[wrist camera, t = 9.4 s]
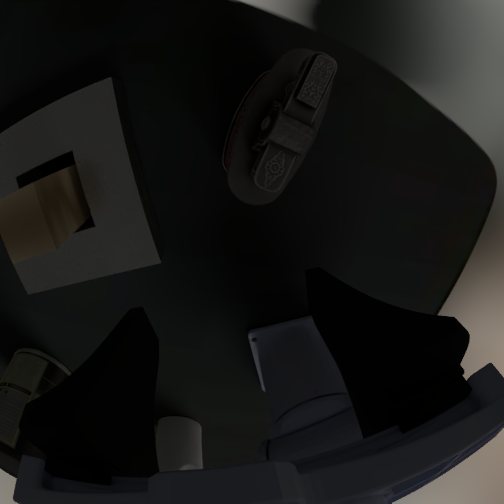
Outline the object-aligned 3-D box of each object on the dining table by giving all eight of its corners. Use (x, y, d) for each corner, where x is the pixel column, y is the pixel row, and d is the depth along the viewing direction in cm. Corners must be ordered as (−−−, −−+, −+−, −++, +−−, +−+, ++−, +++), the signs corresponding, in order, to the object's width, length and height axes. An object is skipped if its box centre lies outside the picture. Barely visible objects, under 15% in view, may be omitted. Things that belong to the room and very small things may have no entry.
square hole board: (165, 247, 22) (161, 262, 20) (40, 279, 21) (28, 294, 19) (122, 81, 16) (111, 76, 14) (-7, 145, 15) (-24, 150, 13)
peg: (96, 210, 20) (56, 249, 13) (57, 224, 20) (13, 264, 13) (82, 161, 18) (33, 182, 12) (42, 178, 18) (-10, 204, 11)
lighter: (255, 183, 21) (292, 235, 12) (211, 166, 20) (212, 206, 11) (301, 84, 18) (373, 62, 9) (257, 64, 17) (299, 19, 8)
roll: (216, 505, 22) (190, 513, 23) (209, 424, 33) (187, 439, 34) (166, 497, 20) (145, 504, 21) (168, 410, 31) (149, 426, 32)
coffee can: (90, 376, 27) (63, 484, 14) (74, 411, 30) (54, 496, 17) (15, 331, 23) (-36, 427, 11) (11, 375, 26) (-22, 455, 13)
